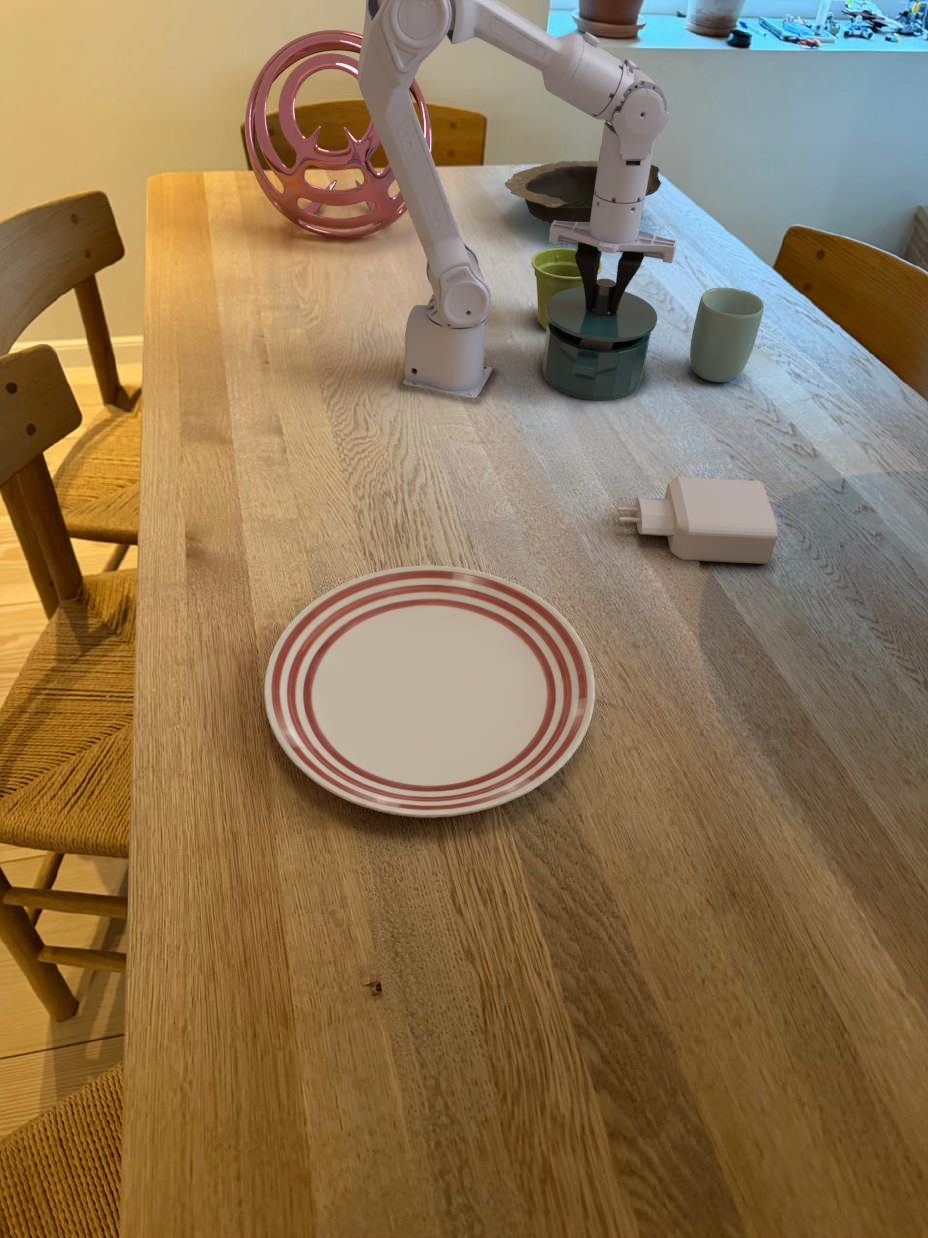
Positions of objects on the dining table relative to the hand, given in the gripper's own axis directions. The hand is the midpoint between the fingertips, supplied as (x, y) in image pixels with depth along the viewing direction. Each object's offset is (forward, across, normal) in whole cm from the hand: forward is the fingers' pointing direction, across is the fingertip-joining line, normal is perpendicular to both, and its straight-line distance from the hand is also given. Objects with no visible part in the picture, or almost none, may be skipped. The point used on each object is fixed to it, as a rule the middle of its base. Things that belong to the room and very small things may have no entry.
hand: (601, 308), depth 116 cm
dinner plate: (+9, -2, -59) cm, 60 cm away
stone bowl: (+9, -12, +47) cm, 49 cm away
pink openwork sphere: (+9, -47, +30) cm, 56 cm away
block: (+8, 0, 0) cm, 8 cm away
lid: (+1, 0, 0) cm, 1 cm away
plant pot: (+9, -7, +12) cm, 17 cm away
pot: (+9, 0, 0) cm, 9 cm away
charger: (+9, +16, -29) cm, 34 cm away
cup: (+9, +15, +6) cm, 19 cm away
